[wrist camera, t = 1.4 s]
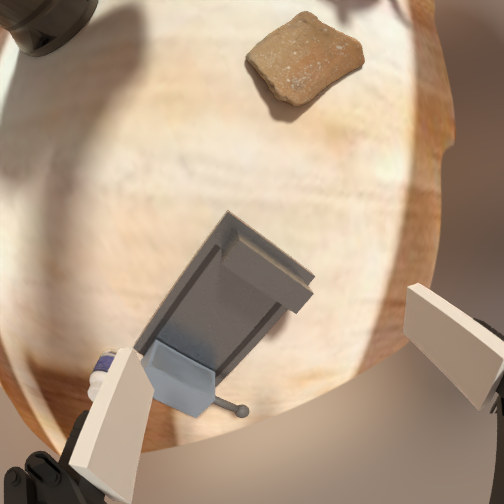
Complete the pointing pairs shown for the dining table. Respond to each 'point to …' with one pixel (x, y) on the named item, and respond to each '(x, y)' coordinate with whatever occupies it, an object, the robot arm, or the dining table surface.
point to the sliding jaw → (183, 382)
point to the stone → (304, 58)
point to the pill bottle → (100, 372)
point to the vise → (227, 298)
